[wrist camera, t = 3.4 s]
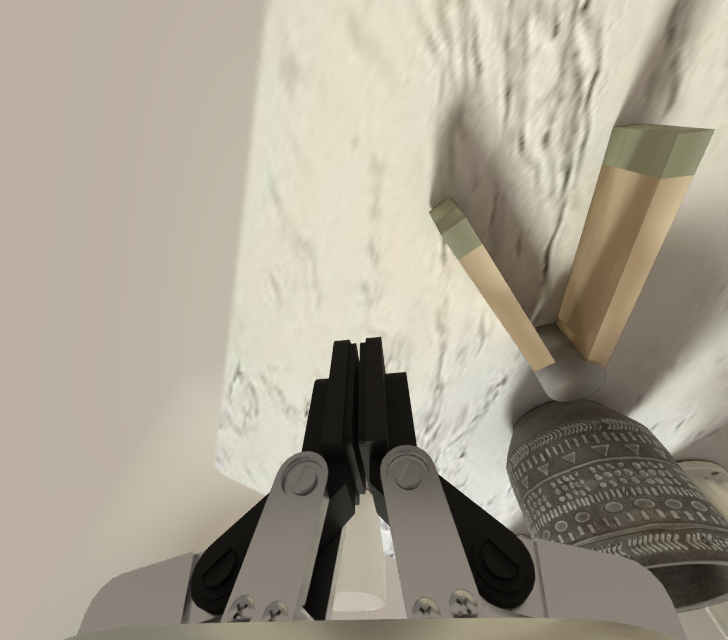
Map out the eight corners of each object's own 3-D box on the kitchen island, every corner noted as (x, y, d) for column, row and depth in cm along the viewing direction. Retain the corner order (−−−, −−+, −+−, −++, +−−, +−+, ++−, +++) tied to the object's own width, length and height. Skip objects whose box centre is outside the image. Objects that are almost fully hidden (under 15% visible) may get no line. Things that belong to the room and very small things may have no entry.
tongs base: (645, 122, 18) (723, 129, 14) (564, 358, 29) (595, 399, 25) (568, 133, 19) (623, 142, 15) (517, 362, 30) (540, 403, 26)
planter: (537, 371, 31) (647, 550, 18) (657, 397, 32) (829, 574, 20) (473, 449, 39) (520, 609, 26) (572, 466, 40) (658, 623, 28)
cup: (318, 482, 44) (303, 591, 34) (381, 480, 43) (384, 590, 34) (329, 511, 49) (319, 612, 40) (385, 509, 49) (389, 612, 39)
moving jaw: (449, 196, 21) (466, 217, 17) (530, 326, 27) (555, 362, 23) (428, 211, 21) (440, 235, 18) (512, 335, 28) (534, 371, 24)
